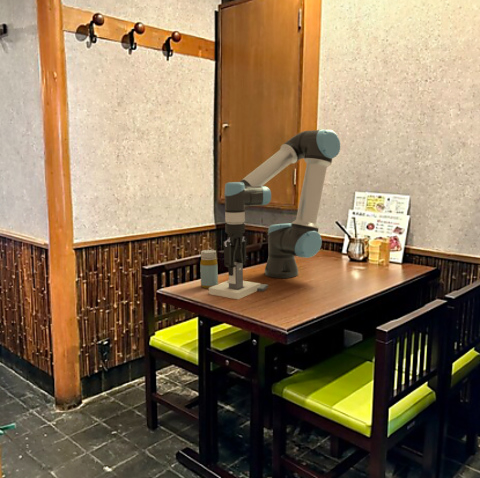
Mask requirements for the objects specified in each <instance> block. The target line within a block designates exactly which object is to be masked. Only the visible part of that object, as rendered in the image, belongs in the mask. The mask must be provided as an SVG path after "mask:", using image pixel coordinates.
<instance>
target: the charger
mask: <svg viewBox="0 0 480 478" xmlns="http://www.w3.org/2000/svg"><path fill="white" fill-rule="evenodd" d="M234 267H235V270H236V284H232V283H229V289H234V290H239V289H241V288H243V281H244V274H243V273H244V272H243V271H244V269H243V268H244V265H243V263H239V262H237V261H235V262H234Z"/></svg>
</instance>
